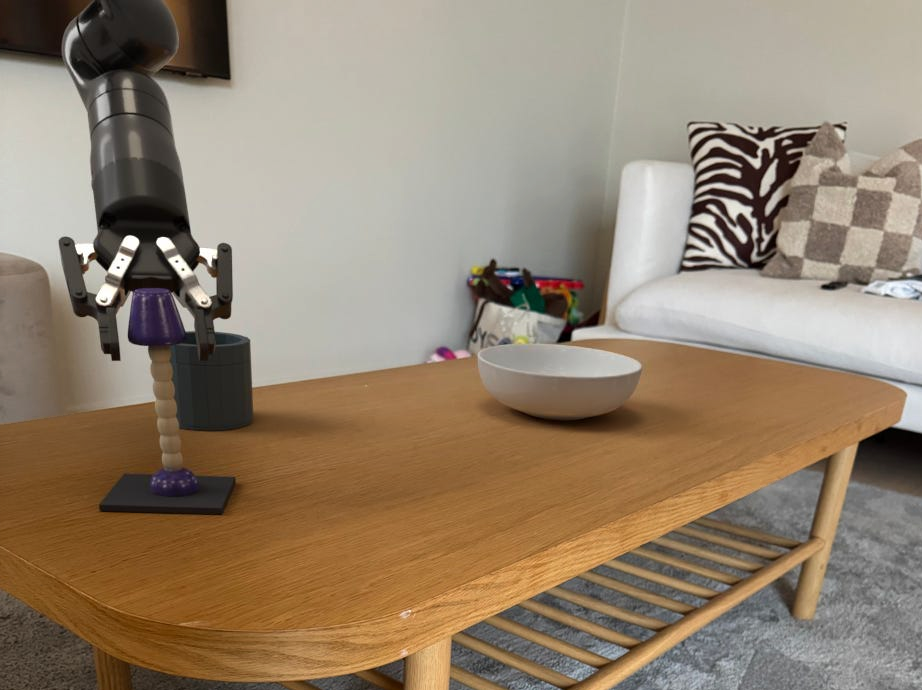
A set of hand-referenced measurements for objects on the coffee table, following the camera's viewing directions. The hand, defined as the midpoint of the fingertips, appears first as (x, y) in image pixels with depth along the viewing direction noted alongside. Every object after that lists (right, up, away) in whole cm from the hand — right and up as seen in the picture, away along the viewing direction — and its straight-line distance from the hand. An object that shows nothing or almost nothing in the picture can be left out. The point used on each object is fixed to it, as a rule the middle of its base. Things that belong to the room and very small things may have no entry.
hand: (160, 354), depth 78 cm
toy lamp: (-1, -10, +7) cm, 12 cm away
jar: (-5, +2, +32) cm, 32 cm away
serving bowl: (+36, +6, +46) cm, 59 cm away
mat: (-1, -10, +7) cm, 13 cm away
